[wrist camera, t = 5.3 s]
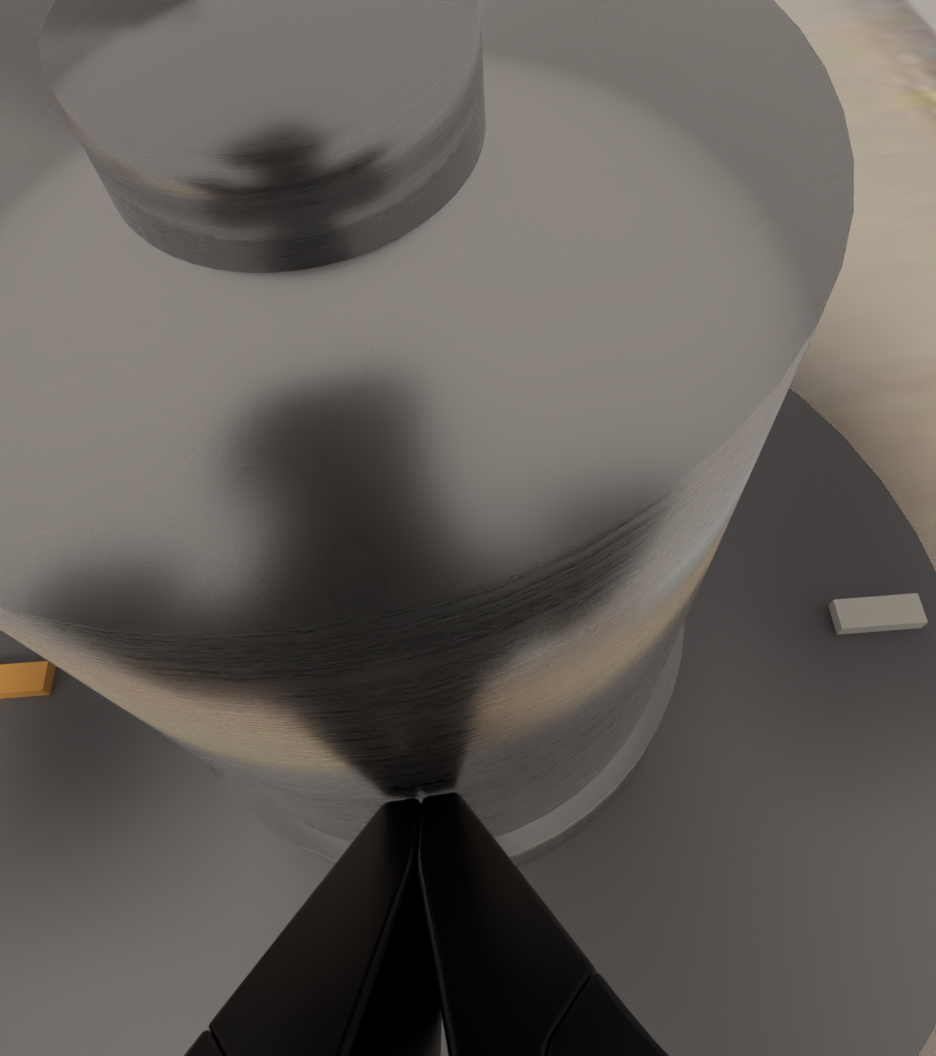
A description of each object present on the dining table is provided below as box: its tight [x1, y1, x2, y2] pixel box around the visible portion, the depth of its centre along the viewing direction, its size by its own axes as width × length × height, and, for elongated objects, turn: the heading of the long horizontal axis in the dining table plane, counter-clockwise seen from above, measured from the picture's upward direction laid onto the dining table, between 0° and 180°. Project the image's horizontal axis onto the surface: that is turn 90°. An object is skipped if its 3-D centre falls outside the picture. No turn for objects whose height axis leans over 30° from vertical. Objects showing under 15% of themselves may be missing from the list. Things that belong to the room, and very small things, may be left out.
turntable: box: [0, 389, 936, 1056], centre depth 16 cm, size 20×20×1 cm
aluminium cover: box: [0, 0, 854, 867], centre depth 11 cm, size 9×9×12 cm
